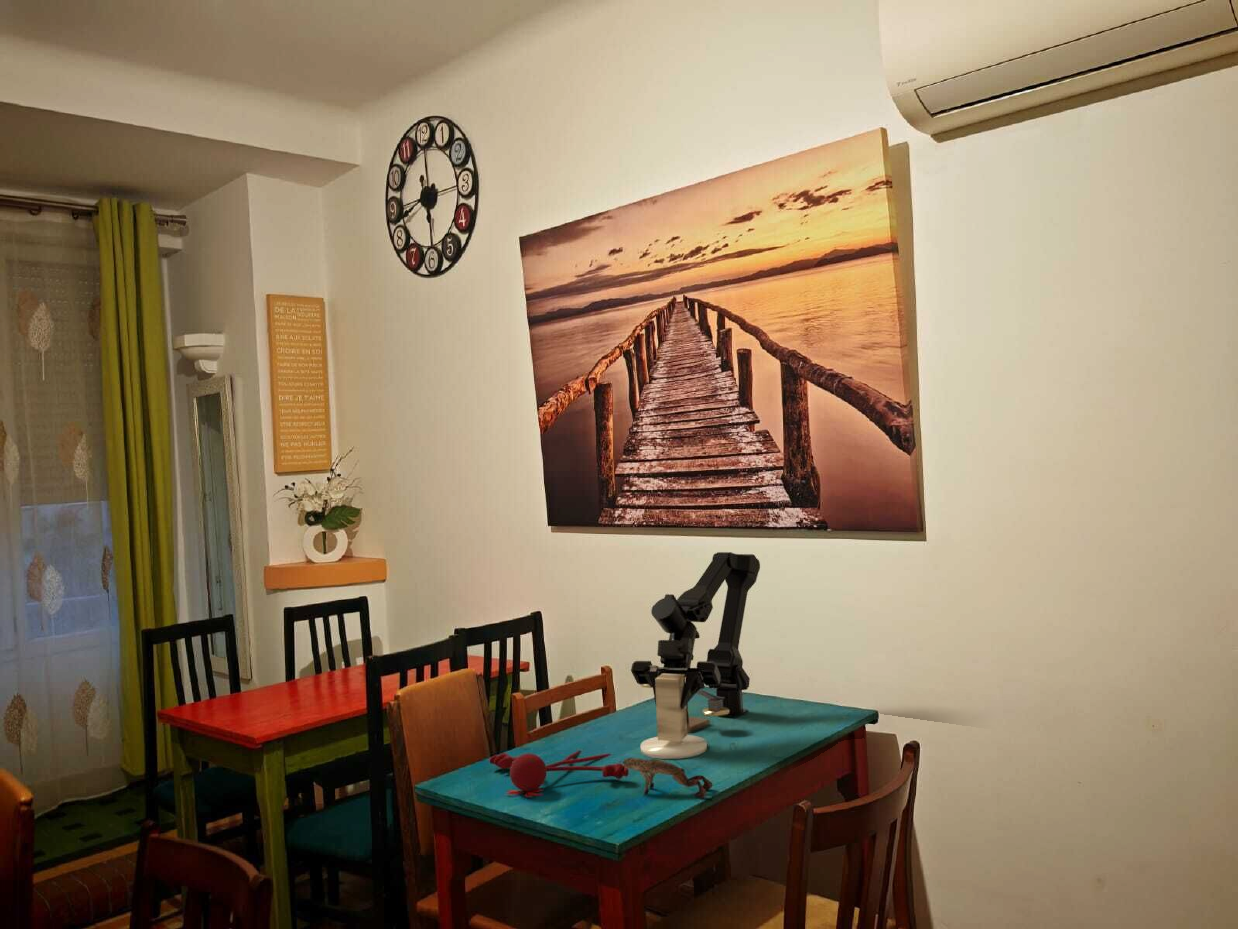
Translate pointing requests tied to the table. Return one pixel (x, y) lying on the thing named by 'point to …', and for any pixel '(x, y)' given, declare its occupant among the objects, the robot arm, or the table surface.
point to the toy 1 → (532, 770)
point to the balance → (704, 711)
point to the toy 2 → (669, 769)
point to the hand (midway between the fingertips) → (669, 707)
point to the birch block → (670, 707)
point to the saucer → (673, 747)
